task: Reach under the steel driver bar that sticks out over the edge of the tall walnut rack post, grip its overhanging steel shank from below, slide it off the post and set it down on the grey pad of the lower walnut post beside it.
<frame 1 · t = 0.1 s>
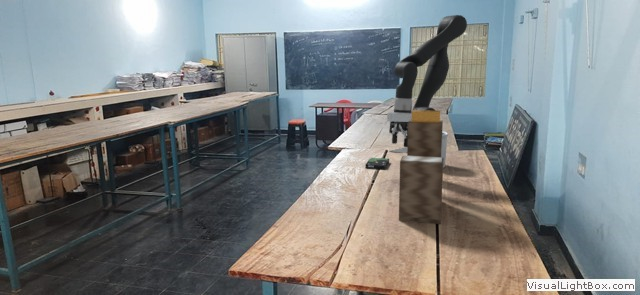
hand: (400, 145, 185), 17 cm above the table, tool pointing down, fingers open, 8 cm apart
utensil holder: (431, 166, 215), on the table
paper plane: (408, 151, 251), on the table
driver bar: (411, 121, 156), point 32 cm above the table, touching tool rack
tool rack: (422, 203, 162), on the table
disk drive: (377, 166, 219), on the table
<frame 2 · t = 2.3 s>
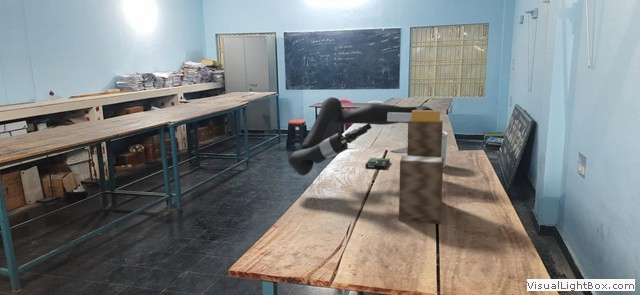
hand: (368, 127, 161), 29 cm above the table, tool pointing upward, fingers open, 8 cm apart
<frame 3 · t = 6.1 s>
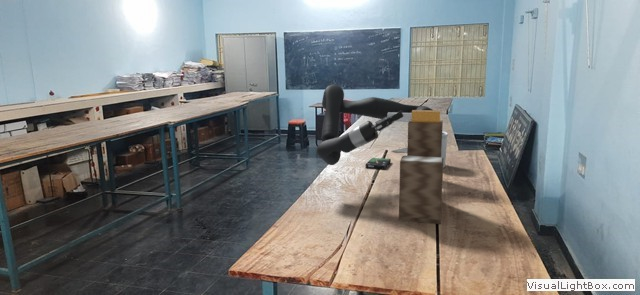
hand: (402, 113, 157), 35 cm above the table, tool pointing upward, fingers closed on driver bar, 3 cm apart
driver bar: (411, 121, 156), point 32 cm above the table, touching gripper, tool rack
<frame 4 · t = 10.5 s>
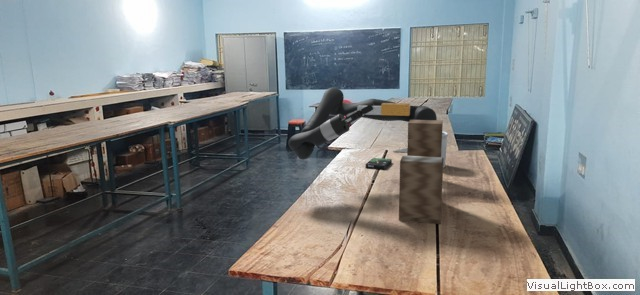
hand: (372, 106, 156), 38 cm above the table, tool pointing upward, fingers closed on driver bar, 3 cm apart
driver bar: (382, 114, 155), point 35 cm above the table, touching gripper
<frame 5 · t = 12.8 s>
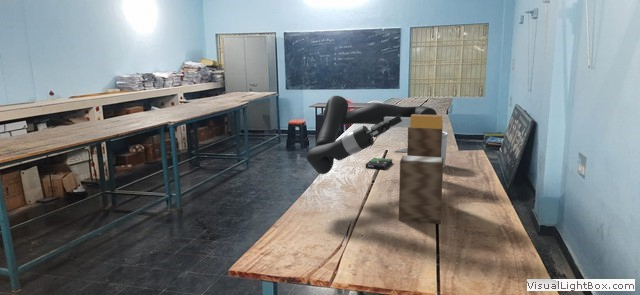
hand: (400, 117, 142), 35 cm above the table, tool pointing upward, fingers closed on driver bar, 3 cm apart
driver bar: (411, 126, 142), point 32 cm above the table, touching gripper
when the fingers open (26 cm above the table, at t = 15.0 s): driver bar drops 2 cm, resting on tool rack.
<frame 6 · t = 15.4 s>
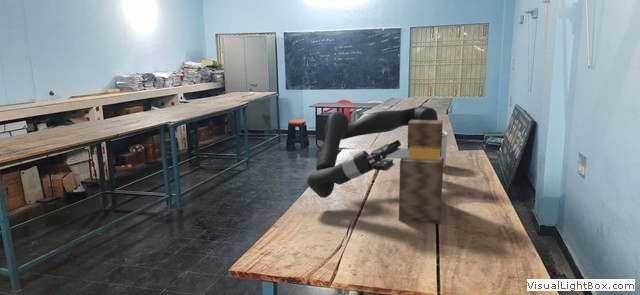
hand: (398, 144, 144), 26 cm above the table, tool pointing upward, fingers open, 7 cm apart
driver bar: (409, 158, 144), point 21 cm above the table, touching tool rack
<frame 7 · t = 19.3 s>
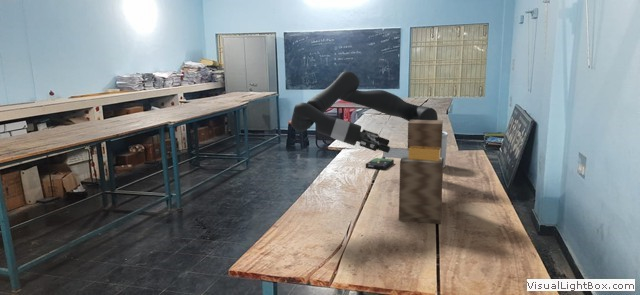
hand: (388, 146, 149), 25 cm above the table, tool tilted 70°, fingers open, 8 cm apart
driver bar: (409, 158, 144), point 22 cm above the table, touching gripper, tool rack
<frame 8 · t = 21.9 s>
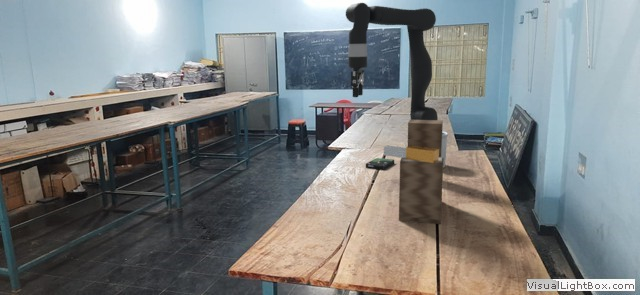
hand: (357, 96, 171), 40 cm above the table, tool pointing down, fingers open, 8 cm apart
driver bar: (408, 157, 145), point 21 cm above the table, touching tool rack
at the end: driver bar inside the target area on the tool rack (0.8 cm from its centre), point 21.5 cm above the tool rack's base; the gripper is holding nothing; driver bar tilted 0° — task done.
